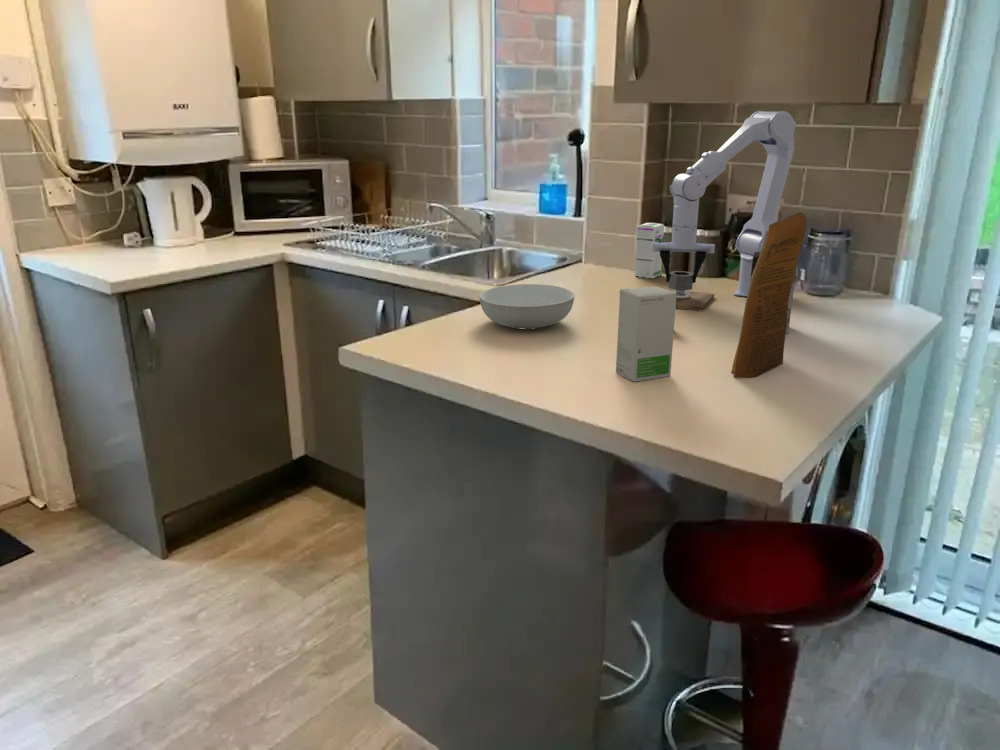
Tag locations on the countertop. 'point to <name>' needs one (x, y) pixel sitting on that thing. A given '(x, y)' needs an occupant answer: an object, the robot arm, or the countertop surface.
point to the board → (695, 301)
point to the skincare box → (645, 333)
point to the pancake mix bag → (769, 299)
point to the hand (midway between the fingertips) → (680, 281)
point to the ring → (680, 280)
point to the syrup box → (648, 250)
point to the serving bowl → (526, 305)
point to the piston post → (682, 295)
